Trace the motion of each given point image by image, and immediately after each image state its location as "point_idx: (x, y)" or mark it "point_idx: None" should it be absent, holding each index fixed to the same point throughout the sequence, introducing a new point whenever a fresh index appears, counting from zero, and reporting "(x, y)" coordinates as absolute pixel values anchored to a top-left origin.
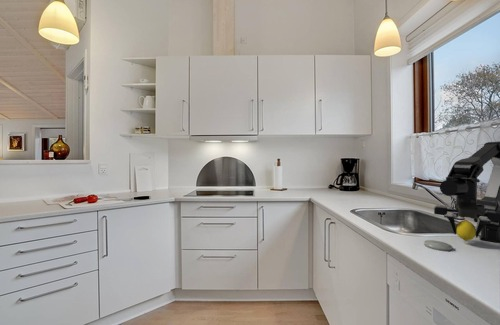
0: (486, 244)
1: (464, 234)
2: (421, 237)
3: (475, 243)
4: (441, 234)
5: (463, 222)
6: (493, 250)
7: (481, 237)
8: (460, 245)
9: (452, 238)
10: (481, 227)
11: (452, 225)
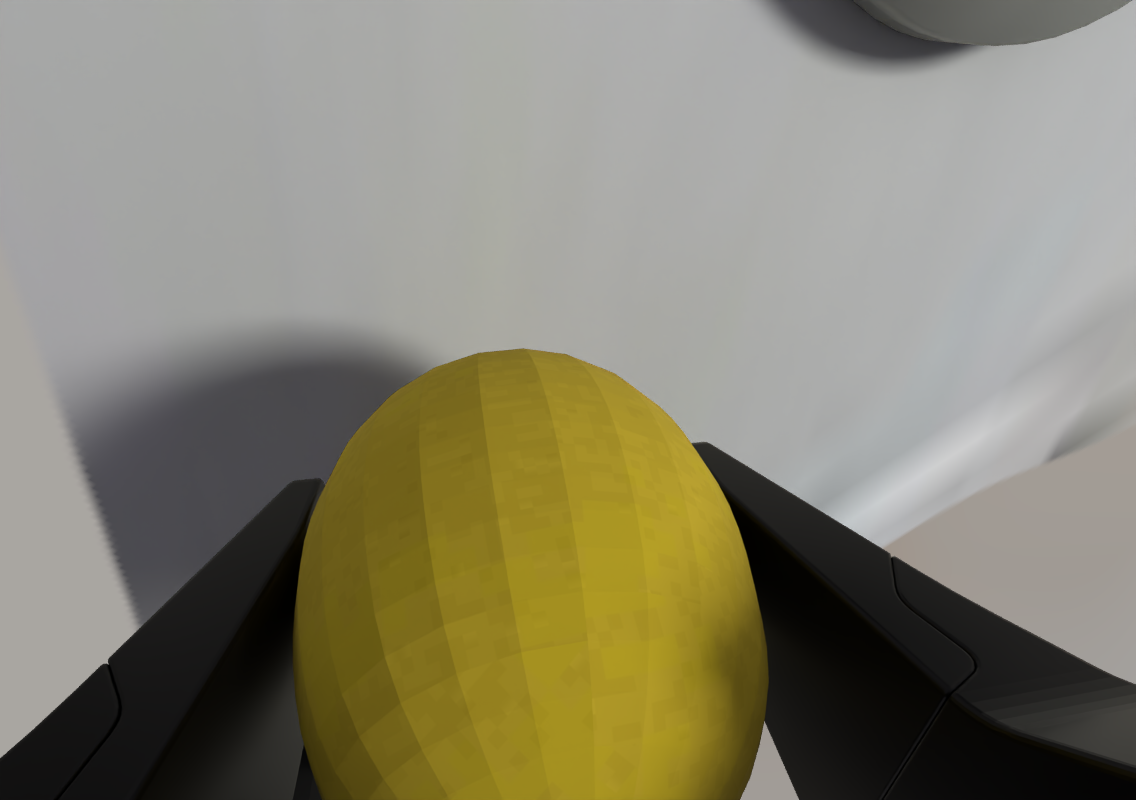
0: None
1: (553, 363)
2: (1075, 290)
3: None
4: None
5: (666, 783)
6: (63, 326)
7: None
8: (571, 242)
9: None
10: (35, 760)
11: (883, 568)
